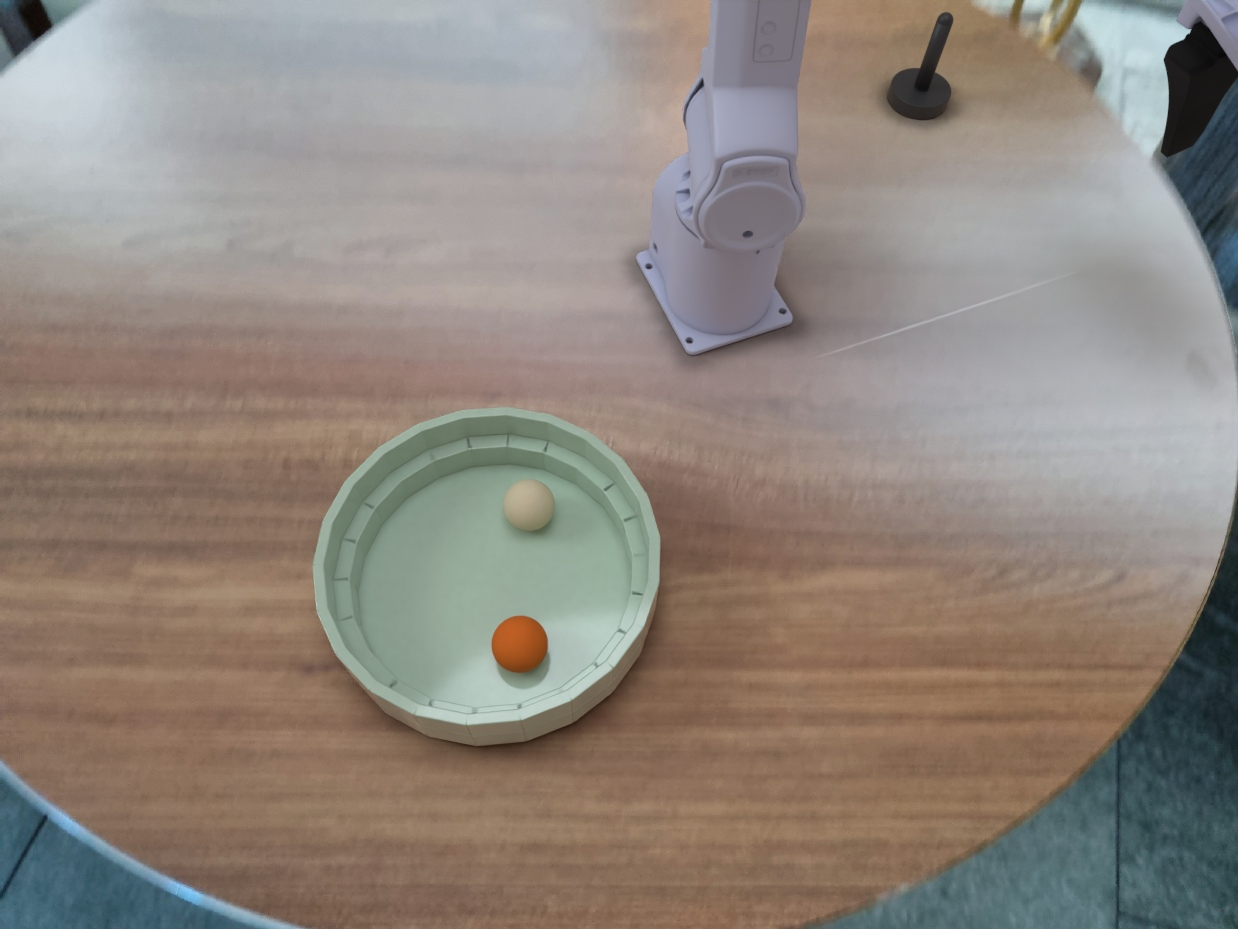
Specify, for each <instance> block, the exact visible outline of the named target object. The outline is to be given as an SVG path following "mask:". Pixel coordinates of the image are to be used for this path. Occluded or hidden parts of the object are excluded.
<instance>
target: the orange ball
mask: <svg viewBox="0 0 1238 929" xmlns="http://www.w3.org/2000/svg"><path fill="white" fill-rule="evenodd" d="M491 647H492V653H493V655H494V658H495V659H496V661H497V662H498V664H499V665H500V666H501V667H503V668H504V669H506V670H508V671H511V672H515V673H523V672H528V671H530V670H533V669H534V668H536V667H537V666H538V665H539V664H540V663H541V662H542V661H543V659H544V657H545V655H546V653H547V649H548V638H547V635H546V632H545V630H544V628H543V627H542V626H541V624H540V623H539V622H537V621H536V620H535V619H533V618H530V617H527V616H513V617H510V618H508V619H506V620H504V621H503V622H502V623H501V624H500V625H499V626H498V627H497V628H496V630H495V632H494V634H493V637H492V642H491Z"/></svg>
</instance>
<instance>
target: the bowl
mask: <svg viewBox="0 0 1238 929" xmlns="http://www.w3.org/2000/svg"><path fill="white" fill-rule="evenodd" d="M524 479H534V480H538V481H540V482H542V483H544V484H545V485H546V486H547V487H548V488H549V489H550V490H551V492H552V494H553V496H554V500H555V510H554V514H553V516H552V518H551V520H550V521H549V522H548V523H547V524H546V525H545V526H544V527H542V528H540V529H537V530H533V531H524V530H520V529H518V528H516V527H514V526H513V525H512V524H511V523H510V522H509V521H508V520H507V518H506V516H505V514H504V511H503V500H504V496H505V494H506V492H507V490H508V489H509V488H510V487H511V486H512V485H513V484H515V483H516V482H518V481H520V480H524ZM659 531H660V530H659V527H658V525H657V520H656V517H655V514H654V510H653V507H652V504H651V499H650V497H649V495H648V493H647V491H646V490H645V489H644V487H643V486H642V484H641V483H640V481H639V480H638V478H637V477H636V475H635V474H634V472H633V470H632V469H631V467H630V466H629V465H628V463H627V462H626V460H625V459H624V458H623V457H621V456H620V455H619V454H618V453H616V451H614V450H613V449H612V448H610V446H608V445H607V444H606V443H605V442H603V441H602V440H601V439H600V438H599V437H597V436H596V435H595V434H593V432H591V431H589V430H587V429H585V428H582V427H580V426H578V425H575V424H573V423H571V422H569V421H567V420H565V419H562V418H560V417H557V416H555V415H554V414H550V413H546V412H541V411H540V412H539V411H533V410H528V409H521V408H517V407H510V406H499V407H485V408H472V409H471V408H470V409H460V410H456V411H453V412H449V413H447V414H444V415H441V416H440V415H439V416H437V417H435V418H431V419H428V420H424V421H422V422H419V423H416V424H414V425H413V426H411V427H409V428H407V429H406V430H405V431H403V432H401V433H399V434H398V435H396V436H395V437H393V438H391V439H389V440H387V441H386V442H384V443H383V444H381V445H379V446H378V447H376V449H375V450H374V451H373V452H372V453H371V454H370V455H369V456H367V458H366V459H365V460H364V461H363V462H362V463H361V464H360V465H359V466H358V467H357V468H356V469H355V470H354V471H353V472H352V473H351V474H350V475H349V476H348V477H347V478H346V479H345V480H344V481H343V484H342V485H341V487H340V489H339V490H338V493H337V494H336V496H335V498H334V500H333V501H332V502H331V505H330V506H329V508H328V510H327V512H326V514H325V515H324V517H323V519H322V522H321V526H320V530H319V535H318V539H317V544H316V547H315V552H314V557H313V561H312V579H313V589H314V602H315V610H316V615H317V616H318V619H319V622H320V623H321V626H322V628H323V631H324V632H325V635H326V637H327V639H328V641H329V644H330V646H331V648H332V650H333V653H334V655H335V656H336V658H337V660H338V661H339V662H340V663H341V664H342V665H343V667H344V668H345V669H346V671H347V672H348V673H349V675H350V676H351V677H352V679H353V680H354V682H356V683H357V684H358V685H359V687H360V688H362V690H363V691H364V692H365V693H366V694H367V695H368V696H369V697H370V698H371V700H373V702H375V704H376V705H377V706H378V707H379V708H380V709H381V710H382V711H383V712H384V713H385V714H386V715H388V716H390V717H391V718H393V719H395V720H397V721H399V722H401V723H402V724H404V725H406V726H408V727H410V728H412V729H414V730H415V731H416V732H419V733H421V734H422V735H425V736H427V737H430V738H434V739H439V740H445V741H450V742H453V743H459V744H464V745H468V746H474V747H479V746H480V747H482V746H492V745H503V744H512V743H523V742H529V741H531V740H533V739H535V738H538V737H541V736H544V735H547V734H549V733H552V732H554V731H556V730H558V729H562V728H564V727H566V726H568V725H572V724H573V723H575V722H576V721H578V720H579V719H581V717H583V716H584V715H586V714H587V713H588V712H589V711H591V710H592V709H593V708H594V707H596V706H597V705H598V704H600V703H601V702H602V701H604V700H605V699H607V697H609V696H610V695H612V694H613V693H614V691H615V690H616V688H617V687H618V686H619V685H620V683H621V681H622V680H623V679H624V678H625V676H626V675H627V673H628V672H629V671H630V669H631V668H632V667H633V665H634V664H635V663H636V661H637V659H638V658H639V657H640V655H641V653H642V651H643V648H644V645H645V642H646V640H647V636H648V634H649V631H650V627H651V626H652V625H651V624H652V623H653V619H654V616H655V613H656V608H657V602H658V594H659V588H660V581H661V579H660V578H661V577H660V576H661V573H660V572H661V545H662V544H661V542H662V540H661V539H662V538H661V535H660V532H659ZM513 616H527V617H530V618H533V619H535V620H536V621H537V622H539V623H540V624H541V626H542V627H543V628H544V630H545V632H546V635H547V638H548V649H547V653H546V655H545V657H544V659H543V661H542V662H541V663H540V664H539V665H538V666H537V667H536V668H534V669H533V670H530V671H528V672H523V673H515V672H511V671H508V670H506V669H504V668H503V667H501V666H500V665H499V664H498V662H497V661H496V659H495V658H494V655H493V653H492V647H491V642H492V637H493V634H494V632H495V630H496V628H497V627H498V626H499V625H500V624H501V623H502V622H503V621H504V620H506V619H508V618H510V617H513Z"/></svg>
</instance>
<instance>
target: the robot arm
mask: <svg viewBox="0 0 1238 929" xmlns="http://www.w3.org/2000/svg"><path fill="white" fill-rule="evenodd" d="M811 5H812V0H710V5H709V22H708V38H707V46H705V47H703V48H702V49H701V56H700V66H699V72H698V74H697V77H696V79H695V81H694V83H693V84H692V86H691V87H690V89H689V91H688V92H687V94H686V96H685V97H684V98H685V99H684V102H683V106H682V121H683V125H684V129H685V133H686V141H687V150H688V151H687V152H685V153H683V154H681V155H679V156H678V157H676V158H674V159H673V160H671V161H670V162H669V164H667V165H666V166H665V167H664V168H663V170H662V171H661V173H660V174H659V175H658V178H657V179H656V181H655V184H654V186H653V189H652V194H651V211H650V224H649V239H648V249H646V250H642V251H639V252H637V254H636V257H635V258H636V259H635V260H636V263H637V265H638V266H639V268H640V270H641V272H642V274H643V276H644V278H645V280H646V282H647V283H648V285H649V287H650V289H651V291H652V293H653V294H654V296H655V298H656V300H657V302H658V303H659V305H660V308H661V309H662V311H663V313H664V315H665V316H666V318H667V320H668V322H669V324H670V326H671V328H672V329H673V331H674V333H675V335H676V337H677V338H678V340H679V342H680V344H681V346H682V348H683V350H684V351H685V353H686V354H688V355H689V356H697V355H699V354H702V353H706V352H709V351H712V350H715V349H717V348H721V347H724V346H727V345H730V344H733V343H736V342H740V341H744V340H747V339H749V338H752V337H756V336H759V335H762V334H765V333H768V332H772V331H775V330H778V329H782V328H784V327H787V326H790V325H791V324H792V323H793V321H794V316H793V314H792V312H791V310H790V309H789V307H788V305H787V304H786V303H785V301H784V299H783V297H782V296H781V294H780V292H778V290H777V288H776V286H775V283H776V279H777V275H778V271H779V266H780V262H781V259H782V254H783V251H784V248H785V242H786V239H787V238H788V237H789V236H791V235H792V234H793V233H794V232H795V231H796V230H797V228H798V227H799V225H800V224H801V223H802V221H803V218H804V216H805V213H806V209H807V208H806V207H807V199H806V193H805V192H804V188H803V186H802V183H801V180H800V178H799V171H798V167H797V161H798V155H799V118H798V117H799V114H798V91H799V90H798V86H799V82H800V74H801V68H802V63H803V56H804V49H805V44H806V37H807V32H808V24H809V19H810V13H811V12H810V11H811ZM1176 22H1177V23H1178V24H1179V25H1181V27H1183V28H1185V29H1187V30H1190V31H1189V33H1187V34H1186V35H1185V37H1184V39H1181V40H1178V41H1177V42H1174V43H1172V44H1171V45H1169V47H1168V48H1167V50H1166V52H1165V54H1164V57H1163V64H1164V67H1165V72H1166V78H1167V87H1168V104H1167V105H1168V106H1167V115H1166V122H1165V128H1164V134H1163V138H1162V142H1161V148H1160V153H1161V154H1162V155H1163V156H1164V157H1165V158H1167V159H1168V158H1170V157H1172V156H1175V155H1177V154H1179V153H1182V152H1184V151H1186V150H1188V149H1190V148H1192V147H1194V145H1195V144H1196V143H1197V142H1198V140H1199V139H1200V138H1201V136H1202V135H1203V134H1204V132H1205V130H1206V129H1207V127H1208V125H1209V123H1210V122H1211V120H1212V118H1213V116H1214V114H1215V113H1216V111H1217V109H1218V108H1219V106H1220V105H1221V102H1222V101H1223V99H1224V97H1225V96H1226V94H1227V93H1228V92H1229V90H1230V89H1231V88H1232V86H1233V85H1234V83H1235V82H1236V81H1237V80H1238V0H1185V1H1184V3H1183V5H1182V7H1181V10H1180V12H1179V13H1178V16H1177V18H1176ZM689 342H691V343H689Z"/></svg>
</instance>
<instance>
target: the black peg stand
mask: <svg viewBox="0 0 1238 929" xmlns="http://www.w3.org/2000/svg"><path fill="white" fill-rule="evenodd" d="M953 24H954V16H953V14H952V13H951V12H948V11H944V12H941V13H940V14H939V15H938V17H937V18H936V21H935V24H934V27H933V30H932V32H931V35H930V38H929V42H928V43H927V46H926V49H925V53H924V56H923V58H922V62H921V64H920V67H910V68H905V69H902V70H900V71H898V72H897V73H896V74H894V75H893V77H892V79H891V82H890V84H889V88H888V91H887V101H888V104H889V105H890V106H891V108H892V109H893V110H894V111H896V112H897V113H899V114H901V115H902V116H904V117H907V118H909V119H910V118H911V119H914V120H931V119H935V118H937V117H939V116H940V115H942V114H943V113H944V112H945V111H946V108H947V106H948V104H949V101H950V99H951V96H952V87H951V85H950V82H949V81H948V80H947V79H946V78H945V77H943V76H942V75H941V74H939V73H938V72H936V70H937V67H938V65H939V63H940V60H941V57H942V54H943V51H944V49H945V46H946V43H947V41H948V37H949V36H950V32H951V29H952V26H953Z"/></svg>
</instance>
